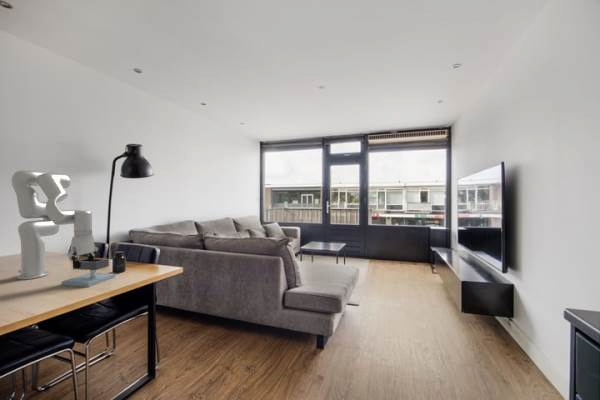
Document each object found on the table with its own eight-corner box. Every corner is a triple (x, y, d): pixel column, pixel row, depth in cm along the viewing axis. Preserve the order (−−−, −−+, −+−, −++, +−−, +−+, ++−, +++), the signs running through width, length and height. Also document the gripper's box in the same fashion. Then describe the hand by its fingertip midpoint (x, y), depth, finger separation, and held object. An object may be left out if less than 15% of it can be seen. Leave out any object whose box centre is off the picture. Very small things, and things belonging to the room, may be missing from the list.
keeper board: (61, 285, 135) (61, 267, 135) (90, 275, 151) (90, 260, 151) (88, 286, 133) (88, 269, 133) (115, 277, 149) (115, 261, 149)
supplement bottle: (118, 273, 156) (118, 253, 155) (109, 273, 157) (109, 253, 157) (128, 270, 162) (128, 251, 162) (119, 269, 164) (119, 250, 164)
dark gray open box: (72, 269, 139) (72, 261, 139) (86, 265, 147) (86, 258, 147) (96, 270, 137) (95, 262, 137) (108, 266, 145) (108, 258, 144)
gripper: (92, 231, 151) (92, 261, 152) (60, 235, 134) (61, 270, 134) (103, 231, 150) (104, 262, 151) (73, 235, 133) (73, 270, 133)
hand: (83, 265), depth 142 cm, fingers closed on dark gray open box, 7 cm apart
